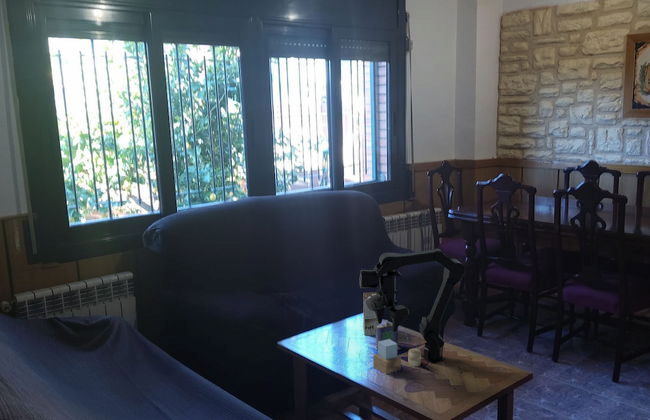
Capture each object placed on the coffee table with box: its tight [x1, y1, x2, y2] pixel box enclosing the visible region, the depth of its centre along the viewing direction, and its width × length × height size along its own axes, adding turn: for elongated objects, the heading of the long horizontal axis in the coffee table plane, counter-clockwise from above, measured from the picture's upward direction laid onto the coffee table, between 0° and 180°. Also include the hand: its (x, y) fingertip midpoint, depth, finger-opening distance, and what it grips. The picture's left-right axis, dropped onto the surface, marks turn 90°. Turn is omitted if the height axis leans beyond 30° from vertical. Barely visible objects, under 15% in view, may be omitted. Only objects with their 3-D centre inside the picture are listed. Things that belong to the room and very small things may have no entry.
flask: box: [375, 319, 399, 349], centre depth 218 cm, size 9×3×11 cm, turn 109°
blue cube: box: [377, 339, 398, 360], centre depth 199 cm, size 5×5×5 cm
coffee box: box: [362, 291, 380, 336], centre depth 233 cm, size 9×6×16 cm
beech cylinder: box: [407, 348, 422, 367], centre depth 203 cm, size 5×5×5 cm
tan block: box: [372, 353, 402, 375], centre depth 200 cm, size 7×7×5 cm
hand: (387, 327), depth 205 cm, fingers open, 9 cm apart
